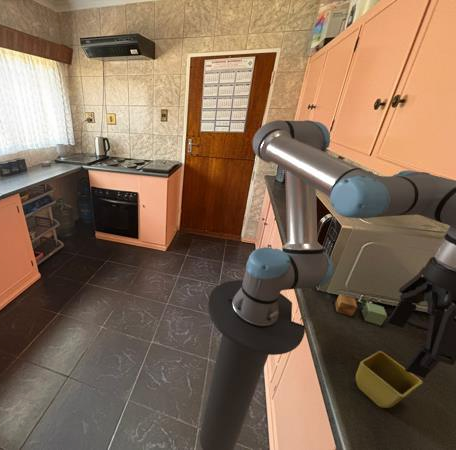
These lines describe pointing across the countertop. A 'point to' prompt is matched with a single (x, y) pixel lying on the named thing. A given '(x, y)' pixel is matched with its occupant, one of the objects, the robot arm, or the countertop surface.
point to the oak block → (345, 305)
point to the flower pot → (385, 380)
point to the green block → (374, 313)
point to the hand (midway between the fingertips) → (403, 346)
